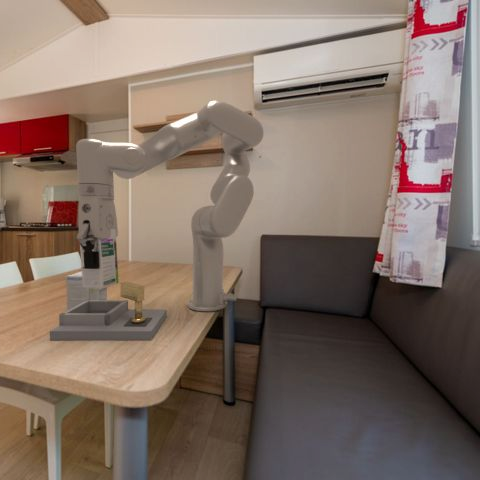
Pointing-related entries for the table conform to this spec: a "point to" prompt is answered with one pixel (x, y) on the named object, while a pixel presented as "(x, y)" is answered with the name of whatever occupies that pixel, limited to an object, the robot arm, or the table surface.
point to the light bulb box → (81, 291)
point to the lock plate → (106, 322)
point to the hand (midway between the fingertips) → (100, 264)
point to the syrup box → (102, 265)
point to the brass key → (134, 299)
